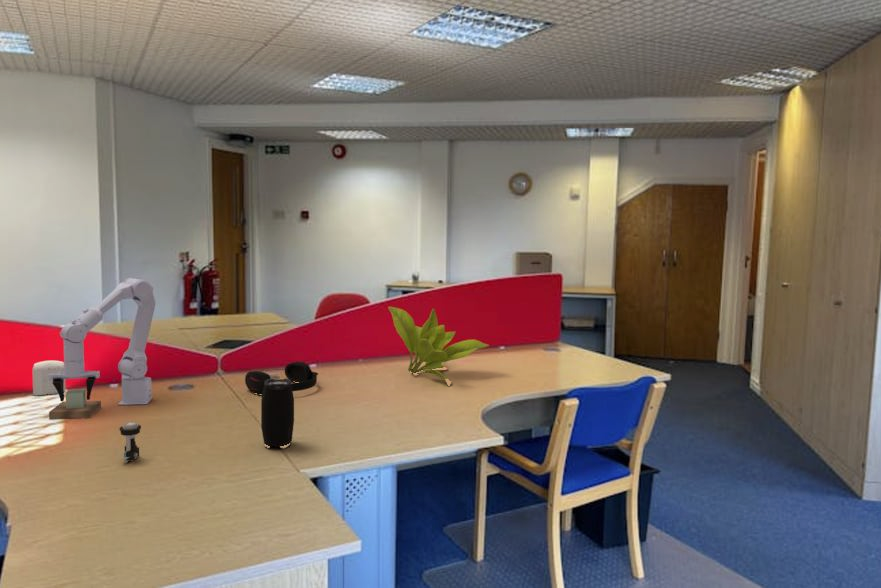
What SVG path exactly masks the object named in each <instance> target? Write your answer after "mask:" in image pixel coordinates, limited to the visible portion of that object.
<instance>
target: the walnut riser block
mask: <svg viewBox="0 0 881 588" xmlns="http://www.w3.org/2000/svg"><path fill="white" fill-rule="evenodd" d="M101 409H102V401H101V400H86V404H85V406H84V408H71V409H66V401H61V403H59V404H58V405H56V406H55V407H54V408H52V409H51V410H49V411H48V418H49V419H48V420H75V419H78V420H79V419H82V418H84V419H91V418H92V417H93V416H94V415H95V414H96V413H97V412H98V411H99V410H101ZM92 415H93V416H92ZM91 416H92V417H91Z"/></svg>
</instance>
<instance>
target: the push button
mask: <svg viewBox="0 0 881 588" xmlns="http://www.w3.org/2000/svg"><path fill="white" fill-rule="evenodd" d="M141 429H142V425H140V424H138V422H137V421H128V422H124V423H123V425H121V426H120V427H119V431H120V435H121V436H123V437H125V446H124V452H123V463H124V464H126V463H129V462H128V461H131V460H133V459H134V458H135V459H134V460H137V459H138V458H139V457H140V447H138V445H137V444H136V436H137V435H138V434H140V433H141ZM138 456H139V457H138ZM136 458H137V459H136ZM134 460H133V461H134Z"/></svg>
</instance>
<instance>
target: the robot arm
mask: <svg viewBox="0 0 881 588" xmlns="http://www.w3.org/2000/svg"><path fill="white" fill-rule="evenodd" d="M127 299H128V300H129V299H132V300H133V301H134V302H135V304H136V305H137V310H136V315H135V317H134V322H133V328H132V332H131V335H130V340H129V345H128V349H127V350H125V352H123V356H122V358H121V359H120V361H119V362H118V366H117V369H118V371H119V372H120V373H121V397H122V398H121V399H122V400H121V401H119V403H118V405H119V406H122V405H123V406H124V405H125V406H127V405H129V406H130V405H148V404H149V403H150V401H152V399H153V392H152V391H153V388H152V387H153V386H152V385H153V382H152V378H151V377H150V376H149V377H148V376H146V373H147V371H148V365H147V361H148V357H147V355H146V352H145V351H146V347H147V342H148V338H149V333H150V331H151V330H150V329H151V327H152V326H151V325H152V321H153V317H154V312H155V309H156V308H155V307H156V300H155V296H154V287H153V285H152V284H150V282H149V281H148V280H146V279H140V278H139V279H138V278H134V277H127V278H126V279H124V280H123V282H119V283H118V285H117V286H116V287H115V288H114V289H113V290H112V291H111V292H110V293H109V294H108V295H107V296H106V297H105V298H103V300H102V301H101V302H99V303H98V304H97V305H96V306H92V307H91V306H89V307H88V308H84V309H83V310H82V313H80V315H78V316H77V317H76V318H73V319H72V320H71V323H66V324H65V325H64V326H62V327H61V328H62V329H61V330H60V332H59V336H60V337H61V338H62V339H63V363H64V367H65V372H60V373H50V374H49V380H53V382H52V383H53V385H54V386H55V388H56V390H57V392H58V396H59V400H60V402H65V393H64V389H63V386H64V379H65V380H71V379H72V380H73V379H75V380H76V379H85V382H86V383H85V384H86V401H90V399H91V394H92V389H93V387H94V384H95V382H96V379H100V376H101V375H100V374H101V373H100V370H85V354H84V353H85V350H84V349H85V348H84V341H85V339H86V337H87V333H89V332H90V331H91V330H92V329H93V328H95V327H96V326H97V325H98V324H100V322H101V321H102V320H104V319H103V318H104V314H106V313H107V312H108V311H109V310H111V309H112V308H114V307H115V306H116V305H117V304H119V302H121V301H123V300H127Z"/></svg>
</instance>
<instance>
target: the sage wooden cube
mask: <svg viewBox="0 0 881 588" xmlns="http://www.w3.org/2000/svg"><path fill="white" fill-rule="evenodd" d="M86 401H87V390H86V388H83V389H82V388H81V389H80V388H79V389H69V390H67V392H65V402H66V409H71V408H84V406H85V404H86Z"/></svg>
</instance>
